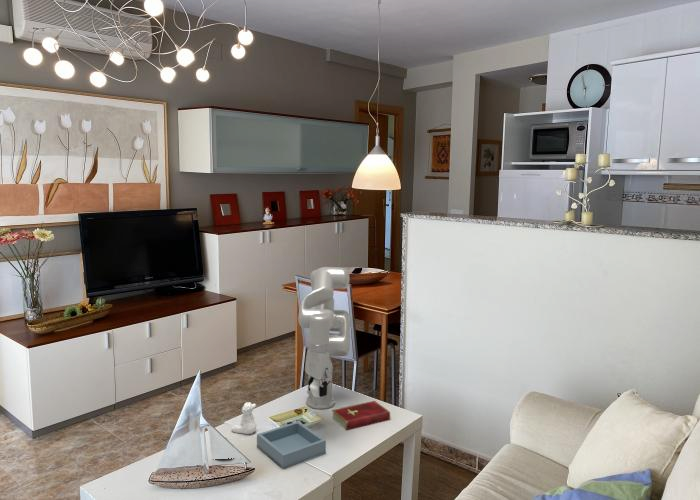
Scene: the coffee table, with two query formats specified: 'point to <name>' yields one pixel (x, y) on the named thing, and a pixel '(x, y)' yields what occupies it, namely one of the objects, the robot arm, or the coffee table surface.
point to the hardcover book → (361, 415)
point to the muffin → (315, 387)
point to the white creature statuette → (246, 420)
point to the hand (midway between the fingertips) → (317, 392)
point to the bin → (291, 444)
